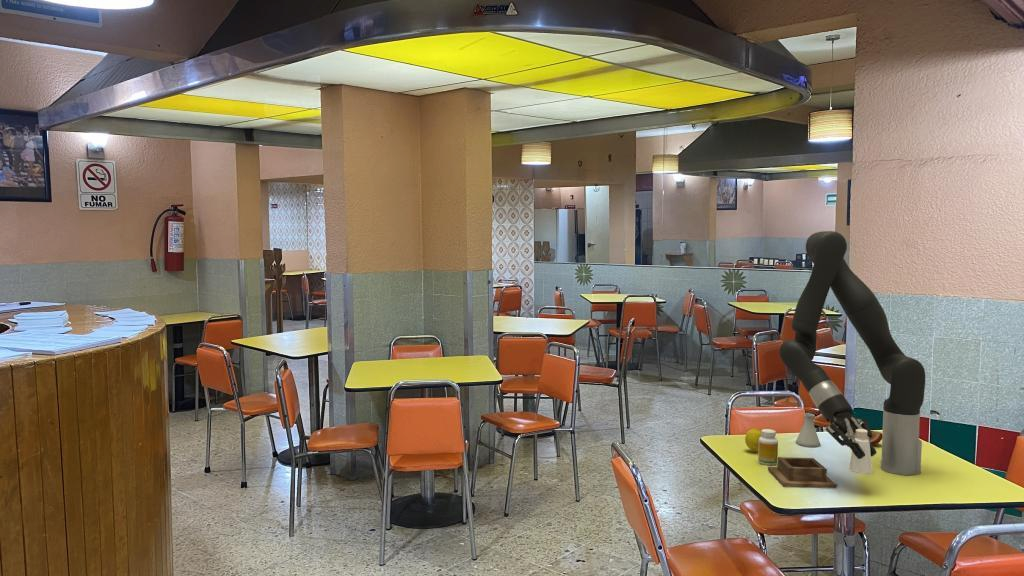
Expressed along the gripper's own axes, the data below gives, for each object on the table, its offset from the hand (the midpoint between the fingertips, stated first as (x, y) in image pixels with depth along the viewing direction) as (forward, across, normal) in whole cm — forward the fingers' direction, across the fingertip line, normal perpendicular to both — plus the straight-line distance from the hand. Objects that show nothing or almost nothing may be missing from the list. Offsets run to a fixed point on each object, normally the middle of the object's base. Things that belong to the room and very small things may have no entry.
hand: (867, 455), depth 184 cm
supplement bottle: (-14, -4, +29) cm, 32 cm away
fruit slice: (-14, +41, +30) cm, 53 cm away
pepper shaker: (+2, 0, +5) cm, 5 cm away
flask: (-20, +23, +35) cm, 47 cm away
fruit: (-21, +1, +36) cm, 42 cm away
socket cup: (-4, -6, +18) cm, 20 cm away
